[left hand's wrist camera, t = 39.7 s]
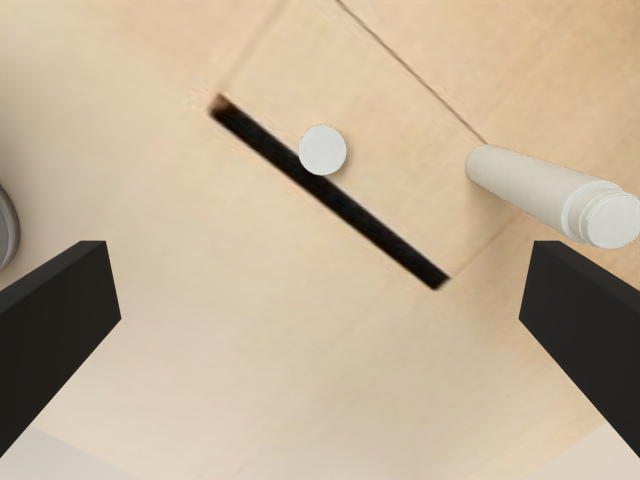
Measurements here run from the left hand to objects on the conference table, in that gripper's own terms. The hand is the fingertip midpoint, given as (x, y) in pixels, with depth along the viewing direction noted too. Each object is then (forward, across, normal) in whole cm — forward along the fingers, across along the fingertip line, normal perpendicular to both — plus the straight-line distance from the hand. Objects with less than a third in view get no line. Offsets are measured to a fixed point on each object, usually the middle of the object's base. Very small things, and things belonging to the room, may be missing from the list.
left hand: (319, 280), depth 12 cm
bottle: (+30, +17, -2) cm, 35 cm away
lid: (+29, 0, 0) cm, 29 cm away
